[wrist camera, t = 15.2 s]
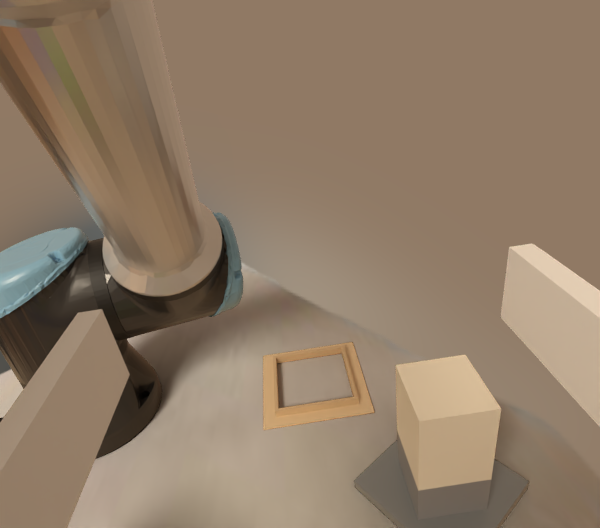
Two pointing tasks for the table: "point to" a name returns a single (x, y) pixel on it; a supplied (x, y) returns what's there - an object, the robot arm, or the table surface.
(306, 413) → the tan square frame
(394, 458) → the slate board
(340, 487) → the table surface
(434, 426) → the beige and grey block
